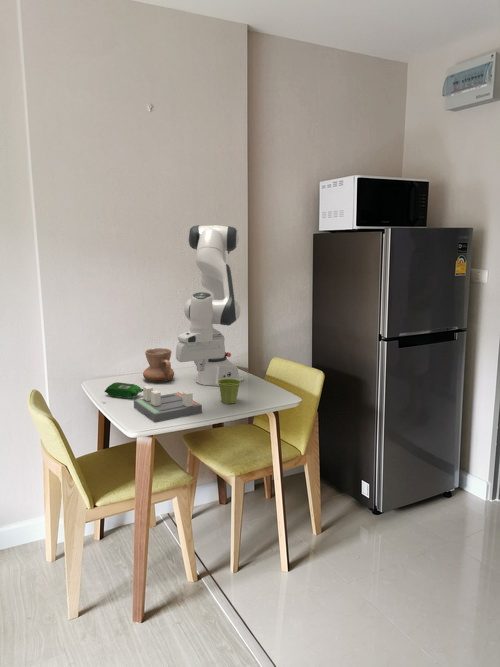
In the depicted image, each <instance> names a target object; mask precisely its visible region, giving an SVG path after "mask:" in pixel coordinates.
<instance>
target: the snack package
mask: <svg viewBox="0 0 500 667" xmlns="http://www.w3.org/2000/svg"><path fill="white" fill-rule="evenodd" d="M104 393H106V394H107V395H109V396H110V397H112V398H113V397H114V398H121V399H122V398H123V399H133V398H134V397H136V396H137V395H138V394H139V393H143V388H141V386H139V385H137V384H134V383H125V382H113V383H111V384H109V385H108V386H107V387H106V389H105V390H104Z"/></svg>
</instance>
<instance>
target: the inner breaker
mask: <svg viewBox="0 0 500 667" xmlns="http://www.w3.org/2000/svg"><path fill="white" fill-rule="evenodd" d="M142 389H143V391H142V393H143V398H142V399H145V400H146V401H151V391H154V388H153V387H152V386H150V385H145V386H143V387H142Z"/></svg>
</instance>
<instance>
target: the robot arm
mask: <svg viewBox="0 0 500 667" xmlns="http://www.w3.org/2000/svg"><path fill="white" fill-rule="evenodd" d="M187 234H188V235H187V241H188V244H189V247H190V248H191V249H193V250H196V253H195V254H196V255H195V258H196V260H195V262H196V267H197V268H198V269H199V271H201V273H200V274H201V279H200V283H201V285H202V286H203V288H205V289H206V290H207V291H209V292H211V293H212V294H211V293H209V292H204V291H203V292H194V293H193V294H192V296H191V298H189V299H188V300H187V301H186V303H185V304H184V306H183V312H184V313H183V314H184V315H185V318H187V320H188V321H189V322H190V324H189V330H186V331H185V332H183V333H180V334H179V335H178V336H177V341H178V342H177V344H176V348H175V349H176V350H175V360H176V361H177V362H180V363H188V362H193V363H194V365H195V367H196V371H197V377H196V380H195V381H196V383H198V384H199V385H205V386H215V387H219V384H218V381H219V380H221V379H236V380H239V381H240V382H243V381H244V377H243V376H242V375H241V374H239V373H240V372H239V369H238V367H237V365H236V364H234V363H233V362H231V360H229V359H228V358H230V357H232V354H231V352H226V346H225V335H223V333H222V332H221V331H220V330H218V329H215V327H214V325H222V326H228V327H229V326H231V325H232V324H233V323H235V322H237V321H238V319H239V318H240V316H241V306H240V305H239V303H238V301H236V300H235V292H234V291H235V290H234V285H233V277H232V272H231V267H230V265H229V263H228V264H227V257H226V251H227V255H229V254H230V253H231V252H233V251H235V249H236V248H237V246H238V244H239V239H240V238H239V237H240V235H239V233H238V230H237V228H236V227H234V226H229V225H228V226H225V225H218V224H214V225H194V226H191V227H190V228H189V231H188V233H187ZM212 295H213V296H212ZM227 357H228V358H227Z"/></svg>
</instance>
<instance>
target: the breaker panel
mask: <svg viewBox="0 0 500 667" xmlns="http://www.w3.org/2000/svg"><path fill="white" fill-rule="evenodd" d="M133 408H134V409H135V410H137V411H138V412H140V414H142V415H144V416H145V417H147V419H149V420H151V421H152V422H153V423H158V422H162V421H163V422H164V421H167V420H172V419H176V418H182V417H187V416H188V417H189V416H191V415H196V414H202V413H203V405H202V404H200V403H199V402H197V401H195V400H193V406H189V407H186V406H184V405H183V393H181V392H178V391H177V392H173V393H168V394H161V405H159V406H154V405H152V404H151V401H146V400H145V399H143V398H139V399H134V400H133Z"/></svg>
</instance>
